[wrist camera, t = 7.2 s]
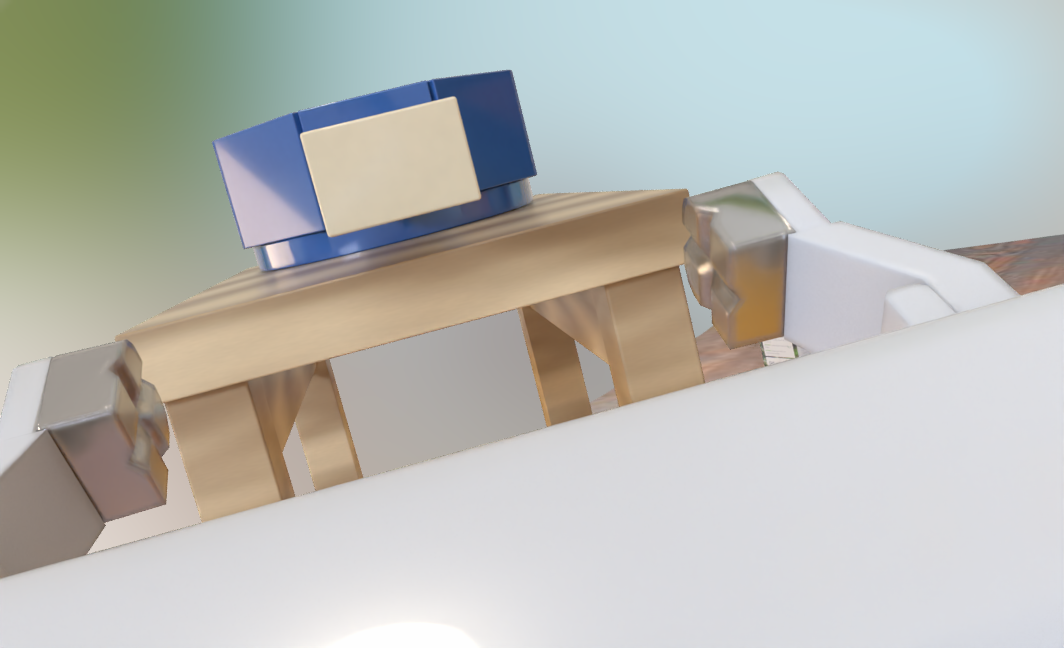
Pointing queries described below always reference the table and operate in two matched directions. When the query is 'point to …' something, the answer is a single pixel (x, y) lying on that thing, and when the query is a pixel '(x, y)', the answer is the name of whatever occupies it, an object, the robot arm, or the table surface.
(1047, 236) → the table surface
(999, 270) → the table surface
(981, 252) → the table surface
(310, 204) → the blue saucepan
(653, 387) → the stand
